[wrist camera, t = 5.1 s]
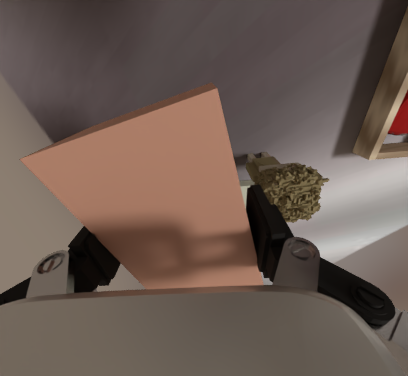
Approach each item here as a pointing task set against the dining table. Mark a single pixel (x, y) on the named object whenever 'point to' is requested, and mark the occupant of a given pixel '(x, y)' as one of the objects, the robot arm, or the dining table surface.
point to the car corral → (386, 103)
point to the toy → (287, 186)
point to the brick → (159, 192)
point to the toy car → (400, 119)
